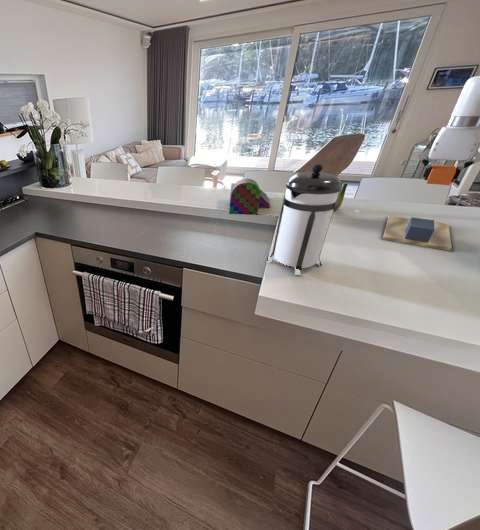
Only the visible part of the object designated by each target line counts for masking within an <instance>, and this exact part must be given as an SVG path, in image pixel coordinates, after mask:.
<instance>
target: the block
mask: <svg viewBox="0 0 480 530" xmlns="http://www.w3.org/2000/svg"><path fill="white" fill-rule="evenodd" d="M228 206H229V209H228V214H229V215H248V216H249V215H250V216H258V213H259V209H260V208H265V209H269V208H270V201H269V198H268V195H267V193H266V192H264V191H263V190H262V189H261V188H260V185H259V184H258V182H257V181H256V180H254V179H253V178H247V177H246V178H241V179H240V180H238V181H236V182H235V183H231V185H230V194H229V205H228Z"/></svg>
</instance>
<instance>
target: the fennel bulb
mask: <svg viewBox="0 0 480 530" xmlns="http://www.w3.org/2000/svg"><path fill="white" fill-rule="evenodd" d="M341 184H342V189H341V191H340V192H339V193H338V196H337V203H336V206H335V208H334V211H337V210H338V209H339V208H340V207H341V206H342V204H343V201H344V198H345V193H346V190H347V187H348V185H349V183H348V182H344V181H341Z"/></svg>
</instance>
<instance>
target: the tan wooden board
mask: <svg viewBox="0 0 480 530" xmlns="http://www.w3.org/2000/svg"><path fill="white" fill-rule="evenodd" d="M410 219H411V218H408V217H401V216H393V215H388V218H387V220H386V225H385V228H384V232H383V236H382V240H385V241H391V242H398V243H403V244H409V245H415V246H420V247H427V248H432V249H437V250H443V251H449V252H451V250H452V248H453V247H452V240H451V233H450V231H451V230H450V224H449V223H447V222H439V221H434V232H433V234H432V236H431V238H430V240H429V241H428V243H427V242H421V241H415V240H409V239H405V233H406V228H407V226H408V224H409V222H410Z"/></svg>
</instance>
